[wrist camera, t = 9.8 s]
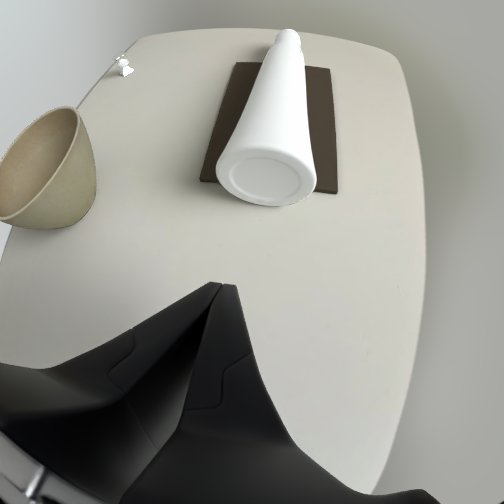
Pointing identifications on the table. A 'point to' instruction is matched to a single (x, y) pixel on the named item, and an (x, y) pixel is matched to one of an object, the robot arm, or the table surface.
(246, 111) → the cosmetic bottle
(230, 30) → the table surface
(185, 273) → the table surface
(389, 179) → the table surface
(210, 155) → the mat
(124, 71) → the wrapped candy
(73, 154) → the bowl
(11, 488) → the robot arm
